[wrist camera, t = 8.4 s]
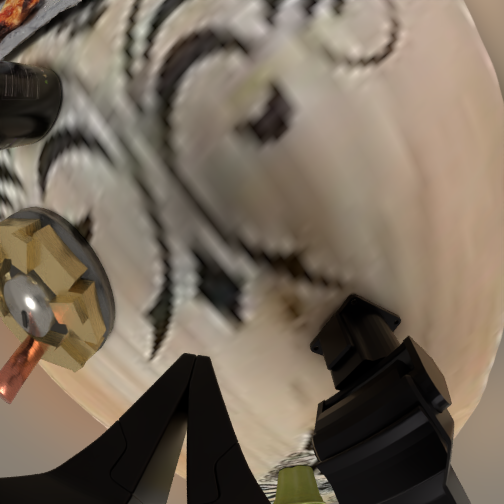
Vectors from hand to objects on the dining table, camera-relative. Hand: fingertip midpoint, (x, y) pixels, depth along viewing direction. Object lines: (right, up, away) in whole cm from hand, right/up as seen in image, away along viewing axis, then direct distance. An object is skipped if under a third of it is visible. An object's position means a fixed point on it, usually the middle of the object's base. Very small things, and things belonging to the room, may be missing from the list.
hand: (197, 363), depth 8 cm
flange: (-18, 0, +13) cm, 23 cm away
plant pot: (+10, -36, +29) cm, 47 cm away
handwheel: (-18, 0, +12) cm, 22 cm away
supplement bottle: (-16, +16, +7) cm, 24 cm away
